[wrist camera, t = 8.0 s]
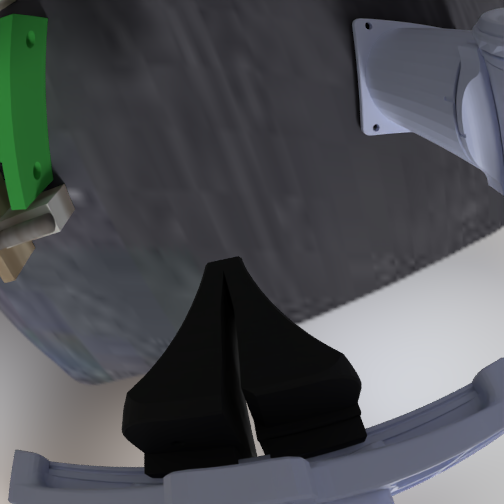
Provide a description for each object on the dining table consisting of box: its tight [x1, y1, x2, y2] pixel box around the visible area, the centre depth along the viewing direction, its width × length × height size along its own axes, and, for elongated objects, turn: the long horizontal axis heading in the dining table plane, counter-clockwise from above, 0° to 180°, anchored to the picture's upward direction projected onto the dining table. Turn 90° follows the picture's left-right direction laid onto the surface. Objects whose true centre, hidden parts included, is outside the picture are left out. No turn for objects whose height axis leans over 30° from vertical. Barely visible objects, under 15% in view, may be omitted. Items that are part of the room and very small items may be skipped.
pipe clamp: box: [0, 14, 53, 210], centre depth 13 cm, size 11×4×5 cm, turn 174°
